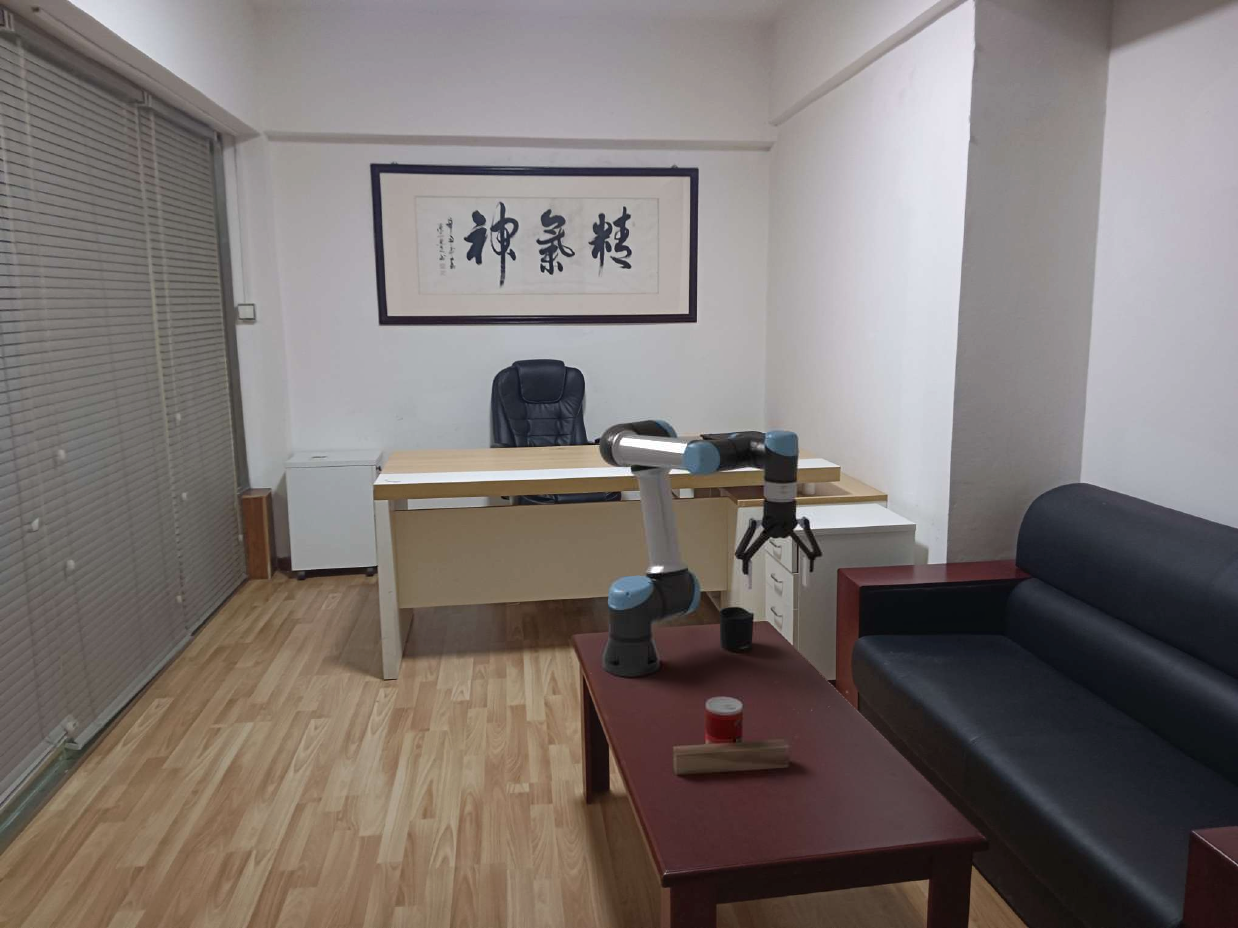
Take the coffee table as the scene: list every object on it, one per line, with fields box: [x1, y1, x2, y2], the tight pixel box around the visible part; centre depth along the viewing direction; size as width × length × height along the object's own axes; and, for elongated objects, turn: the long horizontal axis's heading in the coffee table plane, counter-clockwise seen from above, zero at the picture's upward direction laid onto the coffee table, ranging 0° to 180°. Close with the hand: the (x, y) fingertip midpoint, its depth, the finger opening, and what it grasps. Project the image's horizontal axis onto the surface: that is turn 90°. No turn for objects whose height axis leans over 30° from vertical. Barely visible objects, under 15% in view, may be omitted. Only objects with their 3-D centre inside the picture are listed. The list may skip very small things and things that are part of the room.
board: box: [672, 738, 791, 776], centre depth 187 cm, size 4×24×4 cm, turn 97°
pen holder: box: [719, 606, 755, 653], centre depth 250 cm, size 9×9×10 cm
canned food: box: [704, 696, 744, 744], centre depth 193 cm, size 8×8×11 cm
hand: (777, 586), depth 210 cm, fingers open, 13 cm apart
